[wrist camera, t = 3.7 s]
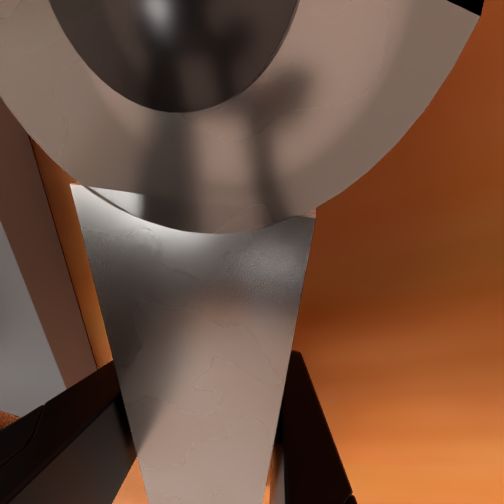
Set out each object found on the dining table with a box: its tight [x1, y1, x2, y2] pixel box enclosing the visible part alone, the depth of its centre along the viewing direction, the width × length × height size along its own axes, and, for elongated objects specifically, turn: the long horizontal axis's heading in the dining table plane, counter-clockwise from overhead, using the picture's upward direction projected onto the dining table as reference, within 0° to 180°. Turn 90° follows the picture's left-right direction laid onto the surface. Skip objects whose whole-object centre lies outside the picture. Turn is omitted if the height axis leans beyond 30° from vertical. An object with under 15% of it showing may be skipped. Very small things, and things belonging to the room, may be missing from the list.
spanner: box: [0, 0, 484, 504], centre depth 8 cm, size 20×5×4 cm, turn 176°
